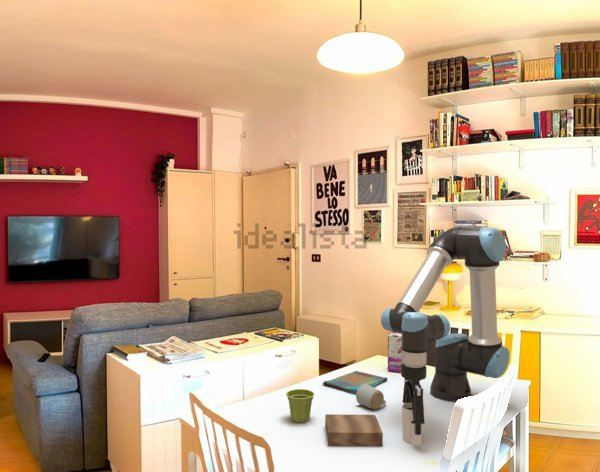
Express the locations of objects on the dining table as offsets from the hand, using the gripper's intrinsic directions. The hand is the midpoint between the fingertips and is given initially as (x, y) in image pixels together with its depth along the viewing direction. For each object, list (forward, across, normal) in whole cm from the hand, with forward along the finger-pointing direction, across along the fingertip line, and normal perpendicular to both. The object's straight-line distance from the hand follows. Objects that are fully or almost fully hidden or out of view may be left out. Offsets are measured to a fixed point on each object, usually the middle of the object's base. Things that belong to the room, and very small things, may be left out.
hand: (412, 436), depth 157 cm
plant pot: (+1, -15, -34) cm, 37 cm away
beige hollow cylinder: (+1, 0, 0) cm, 1 cm away
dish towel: (+2, -53, -11) cm, 54 cm away
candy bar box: (+1, -70, +11) cm, 71 cm away
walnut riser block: (+1, -2, -18) cm, 18 cm away
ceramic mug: (+1, -28, -8) cm, 29 cm away
